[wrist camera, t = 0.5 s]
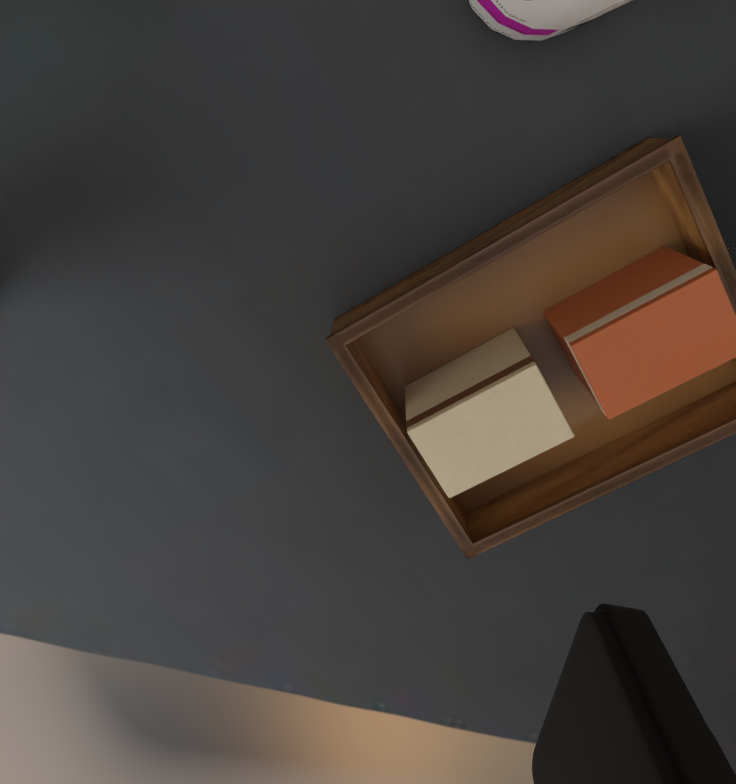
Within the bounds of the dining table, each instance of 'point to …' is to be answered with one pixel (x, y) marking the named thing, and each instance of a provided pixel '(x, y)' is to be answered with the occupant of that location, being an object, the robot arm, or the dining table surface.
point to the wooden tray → (547, 338)
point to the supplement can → (540, 15)
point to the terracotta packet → (646, 329)
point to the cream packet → (483, 414)
